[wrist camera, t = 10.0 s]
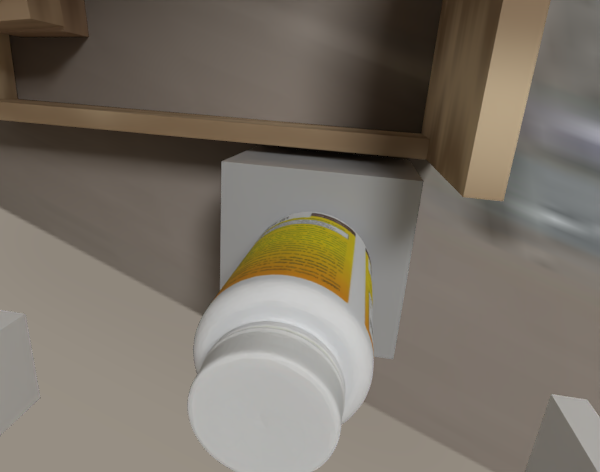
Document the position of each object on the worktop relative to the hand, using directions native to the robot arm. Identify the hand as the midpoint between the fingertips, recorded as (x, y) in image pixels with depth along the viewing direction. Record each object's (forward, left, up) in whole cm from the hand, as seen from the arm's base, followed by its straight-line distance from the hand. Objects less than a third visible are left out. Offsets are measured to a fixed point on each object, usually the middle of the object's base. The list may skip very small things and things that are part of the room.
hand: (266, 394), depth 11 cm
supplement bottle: (0, 0, -10) cm, 10 cm away
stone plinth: (0, 0, -17) cm, 17 cm away
